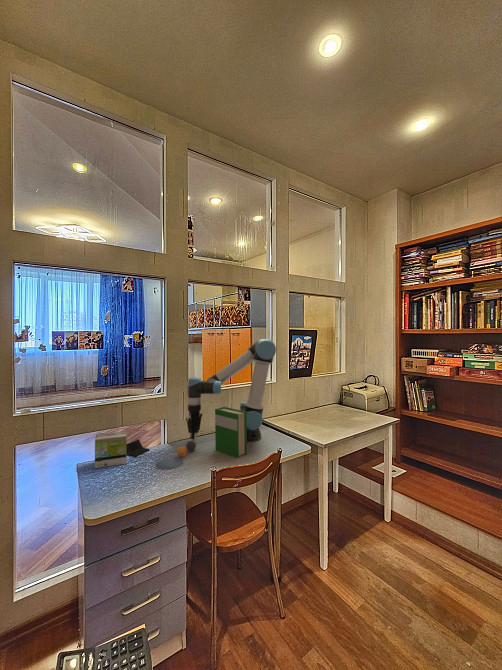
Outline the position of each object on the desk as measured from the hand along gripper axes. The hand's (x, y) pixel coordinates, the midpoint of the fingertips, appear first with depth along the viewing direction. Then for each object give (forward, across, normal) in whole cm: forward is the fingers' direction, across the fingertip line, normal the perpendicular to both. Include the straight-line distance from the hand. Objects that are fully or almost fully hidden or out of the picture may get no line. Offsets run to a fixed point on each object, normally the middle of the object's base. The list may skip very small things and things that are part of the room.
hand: (194, 443), depth 181 cm
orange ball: (0, +12, +1) cm, 13 cm away
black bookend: (+4, +19, -26) cm, 32 cm away
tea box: (+4, +35, -27) cm, 45 cm away
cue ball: (0, +4, +1) cm, 4 cm away
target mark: (+3, +22, +2) cm, 23 cm away
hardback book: (+2, -4, +23) cm, 23 cm away
